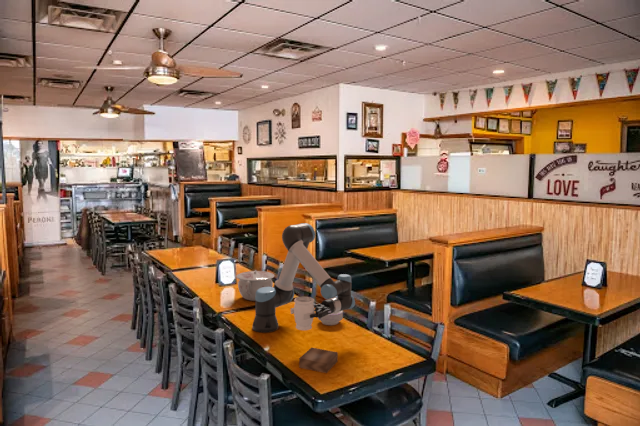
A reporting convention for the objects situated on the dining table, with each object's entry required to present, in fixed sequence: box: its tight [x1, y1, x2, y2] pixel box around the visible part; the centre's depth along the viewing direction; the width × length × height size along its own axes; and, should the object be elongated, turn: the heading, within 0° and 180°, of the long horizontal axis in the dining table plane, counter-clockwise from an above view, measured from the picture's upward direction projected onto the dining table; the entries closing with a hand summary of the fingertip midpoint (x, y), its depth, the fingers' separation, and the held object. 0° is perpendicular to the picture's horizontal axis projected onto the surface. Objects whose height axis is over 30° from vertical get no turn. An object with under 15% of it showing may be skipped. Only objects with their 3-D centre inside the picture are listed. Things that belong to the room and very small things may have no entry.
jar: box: [293, 296, 315, 331], centre depth 232 cm, size 11×10×15 cm
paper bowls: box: [317, 310, 344, 326], centre depth 276 cm, size 15×15×8 cm
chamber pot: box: [235, 269, 275, 302], centre depth 325 cm, size 28×28×21 cm
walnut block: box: [298, 347, 339, 374], centre depth 218 cm, size 14×14×5 cm
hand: (297, 314), depth 229 cm, fingers closed on jar, 10 cm apart
